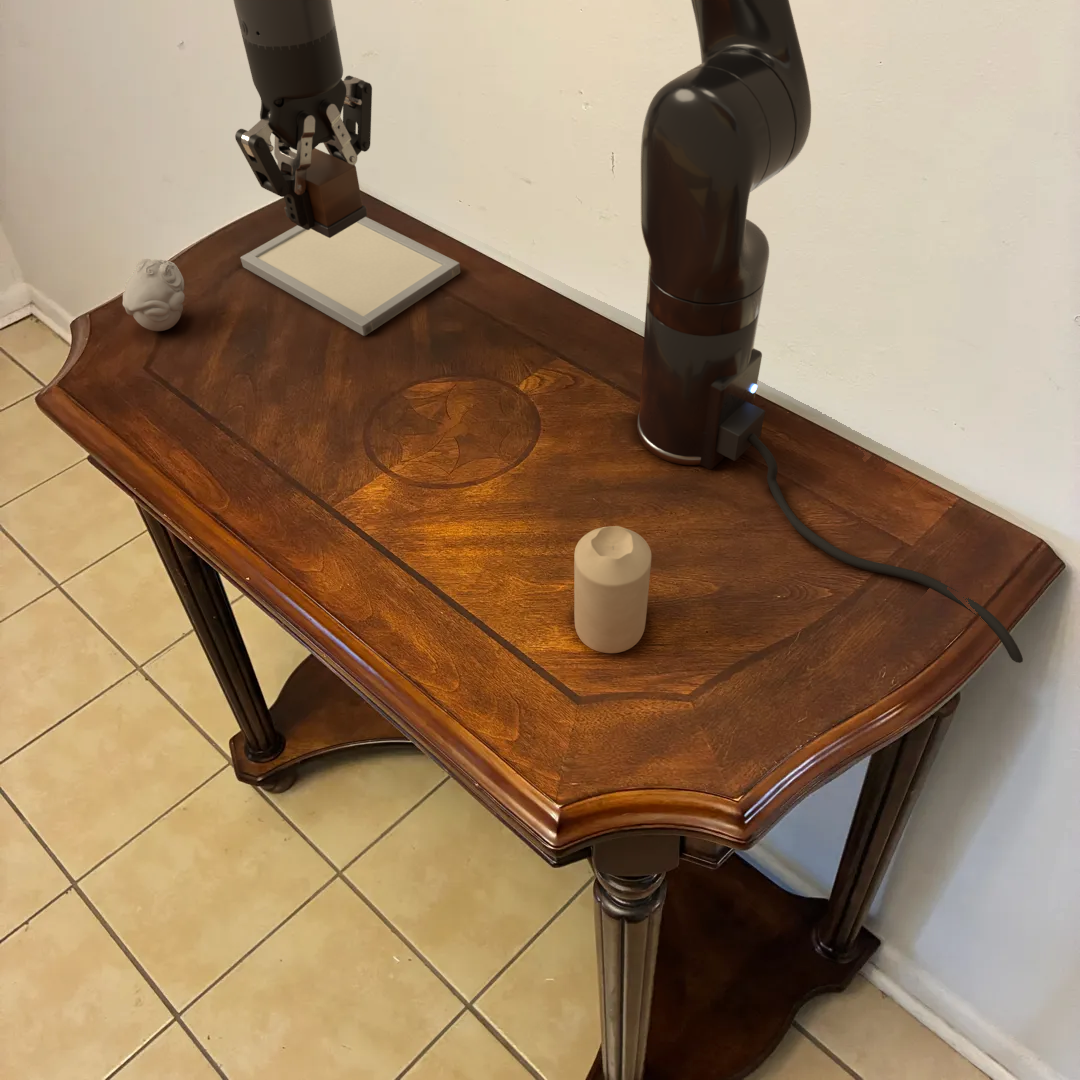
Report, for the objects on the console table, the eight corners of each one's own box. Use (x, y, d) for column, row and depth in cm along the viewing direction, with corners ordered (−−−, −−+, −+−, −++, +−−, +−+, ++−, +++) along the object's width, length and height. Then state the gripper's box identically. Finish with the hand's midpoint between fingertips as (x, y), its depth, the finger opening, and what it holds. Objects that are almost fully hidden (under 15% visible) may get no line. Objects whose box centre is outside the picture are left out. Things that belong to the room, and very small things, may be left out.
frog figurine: (209, 312, 105) (189, 255, 100) (168, 350, 101) (145, 293, 96) (163, 299, 107) (141, 243, 102) (120, 337, 103) (96, 280, 98)
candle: (646, 654, 75) (655, 572, 68) (574, 654, 75) (574, 572, 68) (643, 597, 79) (650, 512, 71) (574, 597, 79) (574, 512, 71)
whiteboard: (460, 272, 109) (459, 262, 108) (364, 336, 102) (362, 326, 101) (339, 212, 118) (337, 202, 117) (242, 267, 111) (239, 257, 110)
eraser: (367, 215, 93) (359, 165, 89) (329, 238, 90) (319, 188, 86) (324, 195, 95) (314, 145, 91) (286, 216, 93) (274, 166, 89)
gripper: (247, 66, 74) (295, 262, 87) (383, 4, 82) (409, 193, 94) (186, 41, 78) (241, 233, 91) (321, -17, 85) (354, 169, 98)
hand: (326, 212), depth 92 cm, fingers closed on eraser, 4 cm apart
